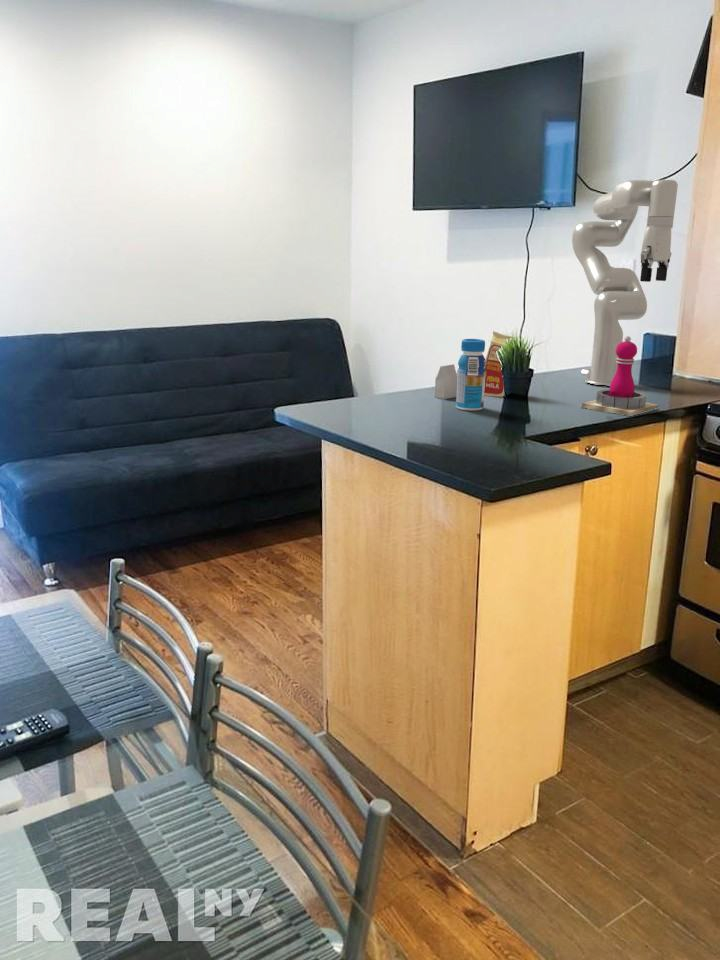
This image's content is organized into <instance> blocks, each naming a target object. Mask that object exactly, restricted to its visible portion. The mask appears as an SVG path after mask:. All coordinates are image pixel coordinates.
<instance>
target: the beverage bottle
mask: <svg viewBox="0 0 720 960" xmlns="http://www.w3.org/2000/svg"><path fill="white" fill-rule="evenodd" d="M460 347H461V352H463V353H462V354H461V355H460V357H459V359H458V362H457V365H458V368H457V371H456V373H457V396H456V397H455V398H456V399H455V407H456V409H458V410H462V411H471V412H472V411H473V412H474V411H480V410H483V409H484V407H485V396H484V390H485V377H486V370H485V366H486V357H485V356H484V353H485V351H486V348H485V347H486V340H484V339H479V338H463V339H461V346H460Z"/></svg>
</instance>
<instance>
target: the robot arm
mask: <svg viewBox="0 0 720 960" xmlns="http://www.w3.org/2000/svg"><path fill="white" fill-rule="evenodd" d="M677 193H678V182H677V181H676V180H674V179H658V180H657V179H656V180H646V179H645V180H644V179H643V180H642V179H631V180H627V181H623V182H621V183H620V182H619V183H618V184H617V185H616V186H615V187H614V189H613V190H612V191H611V192H607V193H605V194H603V195H601V196H599V197H598V198H597V199H596V200H595V201H594V204H593V206H592V207H593V213H594V216H596V217H597V218H599V219H600V220H603V221H592V220H591V221H585V222H581V223H579V224H577V225H576V226H575V227H574V229H573V232H572V238H571V241H572V242H571V243H572V249H573V252H574V255H575V257H576V258H577V260H578V261H579V263H580V265H581V267H582V268H583V271H584V274H585V277H586V278H587V281H588V284H589V287H590V289H591V291H592V292H593V294H595V295H596V298H595V299H594V303H593V304H594V305H593V309H594V310H593V311H594V335H593V343H592V344H593V346H592V355H591V356H592V357H591V364H590V365H591V366H590V369H585V368H583V369H581V373H580V374H581V376H586V378H585V379H584V380H585V381H584V383H585V382H587V383H590V384H595V385H610V384H611V382H612V380H613V378H614V376H615V374H616V371H617V362H616V361H617V358H618V356H617V354H616V347H617V345H618V344H619V343H621V342H624V341H623V339H624V332H623V328H622V326H621V324H620V322H619V321H623V320H624V321H626V320H627V321H628V320H629V321H632V320H639V319H641V318H643V317H644V316H645V315H646V314H647V308H648V302H647V298H646V295H645V292H644V290H643V287H642V285H641V282H647V283H648V282H649V283H650V282H651V281H652V273H653V268H652V266H653V265H654V262H655V263H657V267H656V273H655V281H657V282H659V281H660V282H667V276H668V275H667V274H668V268H669V263H670V261H671V260H670V259H671V257H672V252H671V247H672V246H671V244H672V229H673V227H674V220H675V219H674V218H675V211H676V203H677V195H678V194H677ZM639 207H648V212H647V221H646V228H645V232H644V235H643V240H642V246H641V251H640V263H641V264H640V271H641V272H640V279H639V277H638V275H637V274H636V272H635V271H634V270H632V269H631V268H627V267H626V268H625V267H614V266H611V265H610V263H609V259H608V258H607V256H606V255H605V254H604V252H602V251H601V250H600V249H599V247H600V248H602V247H604V248H605V247H608V248H613V247H617V246H619V245H620V244H622V242H624V240H625V237H626V236H627V234H628V232H629V230H630V228H631V227H632V225H633V223H634V221H635V219H636V216H637V214H638V210H639ZM639 280H640V281H639ZM587 383H586V384H587ZM590 384H589V385H590ZM595 385H594V386H595Z"/></svg>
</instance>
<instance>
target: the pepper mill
mask: <svg viewBox="0 0 720 960" xmlns="http://www.w3.org/2000/svg"><path fill="white" fill-rule="evenodd" d="M631 340H632V338H631V337H630V336H629V335H627V336H625V337H624V341H622V342H621V343H619V344H618V345H617V347H616V354H617V356H618V358H617V361H616V362H617V371H616V374H615V376H614V378H613V380H612V382H611V384H610V387H609V388H608V390H609V391H610V393H611V394H612V396H614V397H626V398H630V396H631V395H632V394H633V393H634V391H635V388H636V387H635V381H634V379H633V375H632V370H633V369H632V368H633V365H634V363H635V358H634V357H636V355H637V354H638V347H637V345H636V343H634V342H632V341H631ZM635 392H636V391H635Z"/></svg>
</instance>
